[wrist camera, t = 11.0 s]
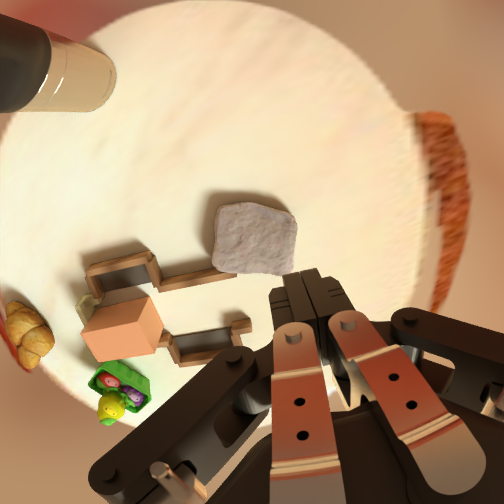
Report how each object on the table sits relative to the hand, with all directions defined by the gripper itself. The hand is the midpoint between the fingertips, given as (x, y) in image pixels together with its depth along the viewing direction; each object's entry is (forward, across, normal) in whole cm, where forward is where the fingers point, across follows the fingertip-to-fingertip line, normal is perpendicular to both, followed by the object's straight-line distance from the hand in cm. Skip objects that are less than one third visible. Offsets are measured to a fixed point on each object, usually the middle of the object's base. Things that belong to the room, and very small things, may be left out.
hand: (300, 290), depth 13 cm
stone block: (+32, +2, +8) cm, 33 cm away
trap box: (+31, +19, +18) cm, 40 cm away
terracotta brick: (+31, +26, +18) cm, 44 cm away
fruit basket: (+31, +33, +31) cm, 55 cm away
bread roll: (+32, +49, +16) cm, 60 cm away
